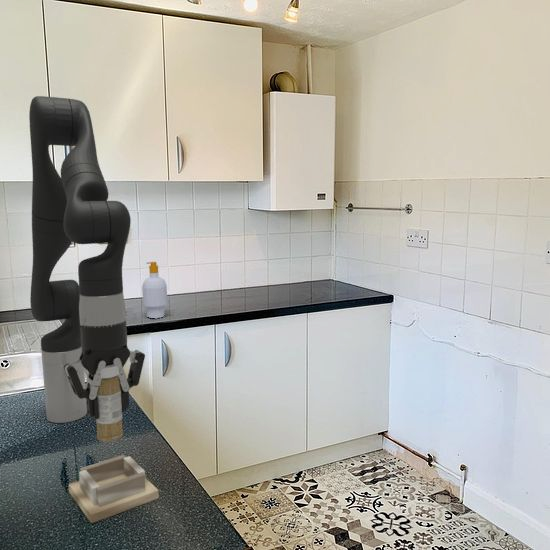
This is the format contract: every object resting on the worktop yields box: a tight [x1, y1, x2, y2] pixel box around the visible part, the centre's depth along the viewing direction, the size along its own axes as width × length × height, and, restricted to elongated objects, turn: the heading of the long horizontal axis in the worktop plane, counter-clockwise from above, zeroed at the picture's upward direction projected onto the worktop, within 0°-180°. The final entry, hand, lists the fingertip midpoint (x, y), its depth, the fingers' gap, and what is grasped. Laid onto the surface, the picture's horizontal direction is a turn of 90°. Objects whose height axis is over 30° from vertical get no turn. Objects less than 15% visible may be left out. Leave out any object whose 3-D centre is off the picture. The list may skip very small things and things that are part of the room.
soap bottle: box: [141, 261, 168, 318], centre depth 232 cm, size 10×10×24 cm
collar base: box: [67, 454, 160, 524], centre depth 97 cm, size 12×12×4 cm
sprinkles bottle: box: [95, 365, 124, 443], centre depth 94 cm, size 5×5×13 cm
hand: (108, 413), depth 95 cm, fingers closed on sprinkles bottle, 4 cm apart
